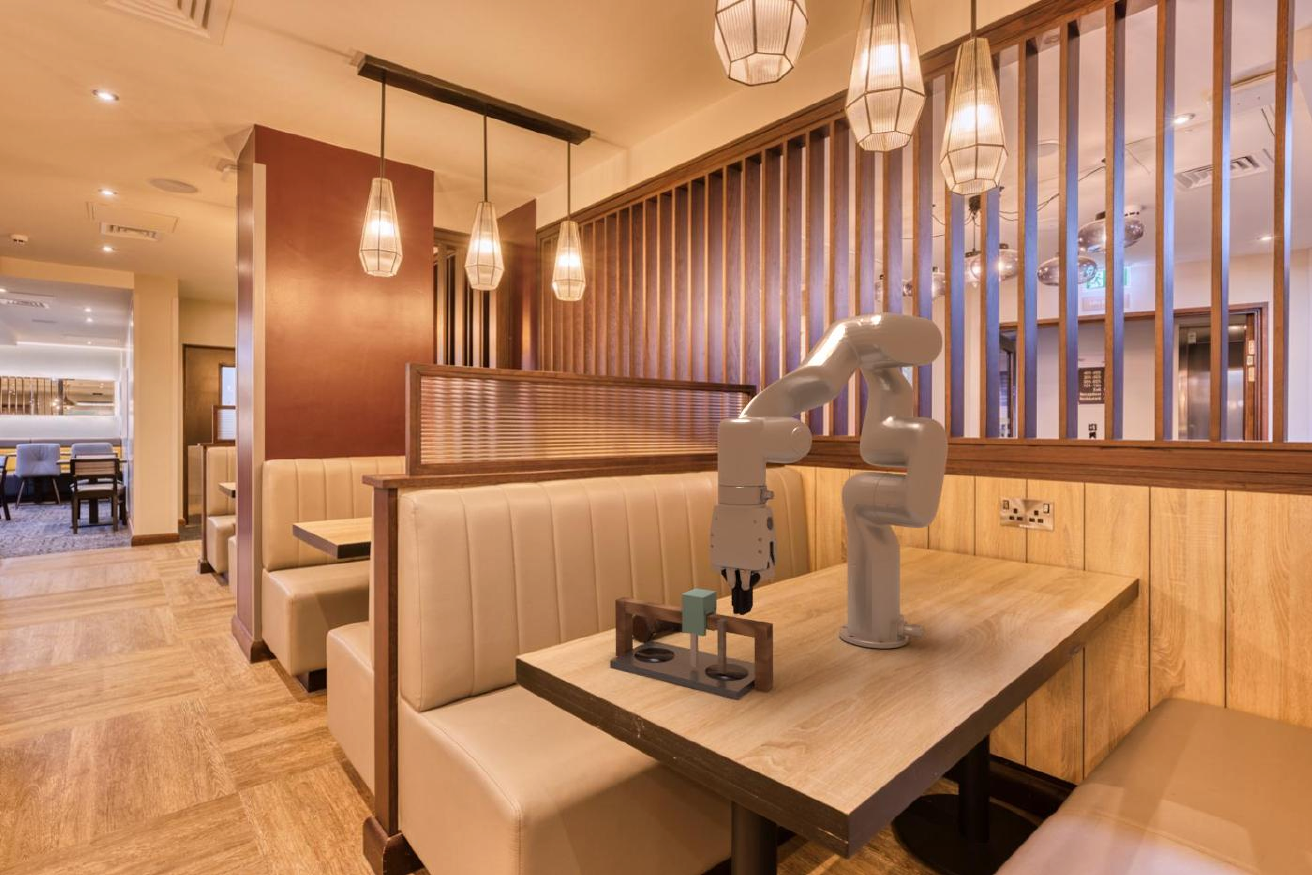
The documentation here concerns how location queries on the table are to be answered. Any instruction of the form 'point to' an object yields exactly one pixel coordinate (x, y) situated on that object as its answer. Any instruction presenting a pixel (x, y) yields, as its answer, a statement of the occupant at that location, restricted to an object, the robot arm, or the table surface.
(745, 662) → the hole plate
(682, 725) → the table surface
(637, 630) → the bolt
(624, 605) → the beam
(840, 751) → the table surface
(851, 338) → the robot arm
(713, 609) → the slider block
